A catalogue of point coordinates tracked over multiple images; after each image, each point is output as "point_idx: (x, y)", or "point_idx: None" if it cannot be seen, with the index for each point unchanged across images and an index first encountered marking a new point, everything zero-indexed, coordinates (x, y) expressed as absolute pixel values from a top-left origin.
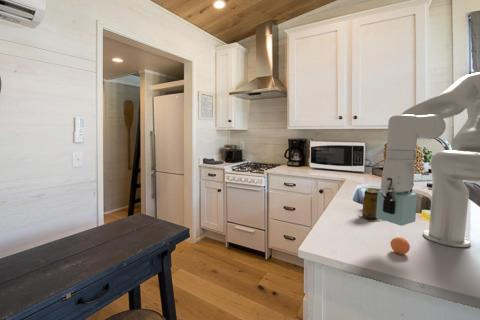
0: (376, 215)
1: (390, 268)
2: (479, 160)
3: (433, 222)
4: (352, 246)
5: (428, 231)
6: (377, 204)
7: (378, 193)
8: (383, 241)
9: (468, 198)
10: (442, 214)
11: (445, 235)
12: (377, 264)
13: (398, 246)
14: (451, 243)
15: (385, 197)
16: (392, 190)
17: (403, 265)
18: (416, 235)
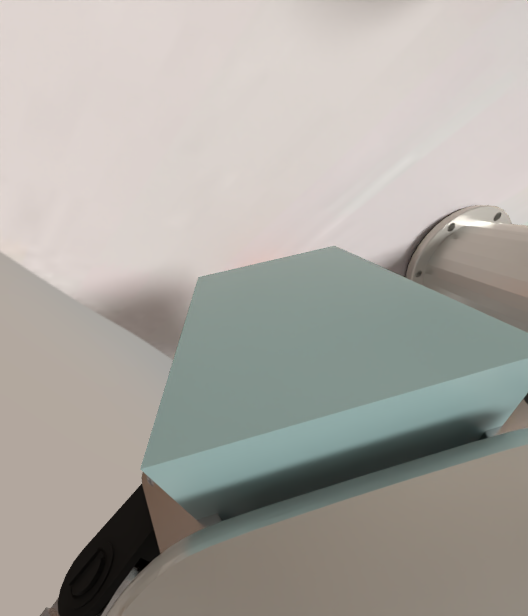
0: (197, 284)
1: (172, 333)
2: None
3: (482, 265)
4: (135, 204)
5: (470, 221)
6: (187, 326)
7: (158, 435)
8: (283, 210)
9: None
10: (514, 309)
11: (437, 288)
12: (151, 315)
13: None
14: None
15: (131, 517)
16: (428, 427)
17: None
18: (425, 211)
